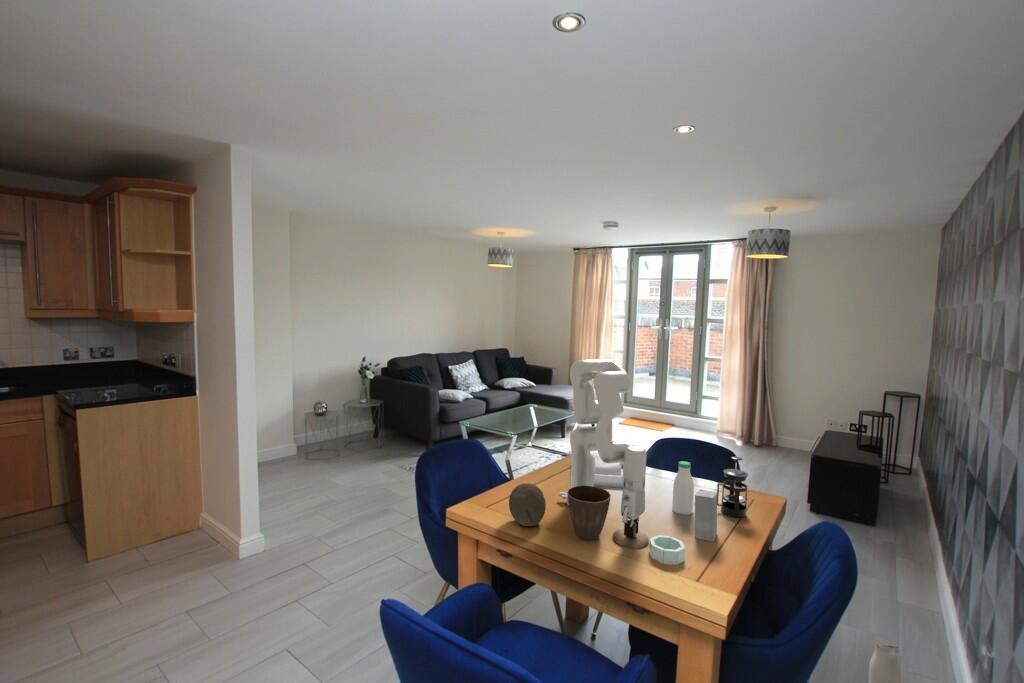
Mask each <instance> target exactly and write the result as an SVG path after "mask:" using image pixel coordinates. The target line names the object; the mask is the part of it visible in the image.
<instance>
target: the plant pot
mask: <svg viewBox="0 0 1024 683" xmlns="http://www.w3.org/2000/svg"><path fill="white" fill-rule="evenodd" d="M567 492H568V502H569V505H568V507H569V512H570V514H569V515H570V518H571V522H572V523H571V524H572V525H573V529H574V532H575V535H576V537H577V538H578V537H579V538H578V539H580V540H582V539H583V540H582V541H586V540H587V542H594V541H596V540H598V539H599V538H600V536H601V533H602V531H603V529H604V526H605V523H606V520H607V516H608V512H609V508H610V502H611V497H612V495H611V493H610V492H609V491H607V490H606V489H604V488H601V487H598V486H595V485H594V486H576V487H573V488H571V487H570V488H569V489H568V490H567ZM593 540H594V541H593Z"/></svg>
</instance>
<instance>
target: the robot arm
mask: <svg viewBox="0 0 1024 683" xmlns="http://www.w3.org/2000/svg"><path fill="white" fill-rule="evenodd" d="M569 373H570V374H569V377H570V382H571V386H572V394H573V396H572V398H573V400H572V405H573V406H572V408H573V414H572V415H573V420H574V422H575V423H576V424H578V425H593V424H594V425H595V424H596V426H587V427H585V426H584V427H578V428H575V429H573V430H571V432H570V434H569V444H570V452H571V453H570V454H571V463H570V464H571V468H570V469H571V470H570V472H571V473H570V489H571V488H573V487H576V486H594V487H595V485H594V478H595V461H594V459H593V457H592V456H591V455H592V454H591V452H594V451H597V453H598V454H597V455H599V456H600V458H601V460H602V461H603V462H605V463H618V462H623V467H622V472H623V480H622V486H623V487H622V488H623V489H622V494H621V504H620V505H621V506H620V515H621V517H622V520H621V522H622V523H623V529H624V535H625V536H627V537H630V538H633V531H634V526H633V521H634V522H636V534H637V533H638V531H639V522H640V516H641V515H643V514H644V512H645V510H646V490H645V489H646V474H647V472H646V471H647V470H646V468H647V450H646V449H645V448H644V447H642V446H639V445H638V444H636V443H635V441H633V440H631V439H623V440H613V420H614V419H616V418H618V417H619V416H621V415H622V414H623V413H624V410H625V409H624V405H623V401H622V399H621V398H622V397H621V394H625V393H628V392H629V391H630V390H631V388H632V380H631V378H630V376H629V374H628V373H627V371H626V370H624V369H623V368H622V367H621V366H620V365H619V364H618V363H616V362H615V361H614V360H612V359H608V358H595V359H594V358H587V359H579V360H576V361H574V362H573V363H572V364H571V367H570V371H569ZM591 381H593V385H592V384H591ZM595 396H596V399H595ZM559 498H562V500H563V499H564V500H566V505H568V506H569V502H568V491H567V492H563V491H559Z"/></svg>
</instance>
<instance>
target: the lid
mask: <svg viewBox="0 0 1024 683" xmlns="http://www.w3.org/2000/svg"><path fill="white" fill-rule="evenodd" d="M633 526H634V531H633V538H630V537H627V536H625V535H624V528H621V529H616V530H615V531H614V532H613V533H612V539H613V541H614V542H615V543H616V544H617V545H620V546H622V547H625V548H629V549H642V548H646V547H647V546H648V545H649V543H650V538H649V536H648V535H647V534H646V533H644V532H642V531H640V530H638V533H637V534H636V522H634V521H633Z"/></svg>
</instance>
